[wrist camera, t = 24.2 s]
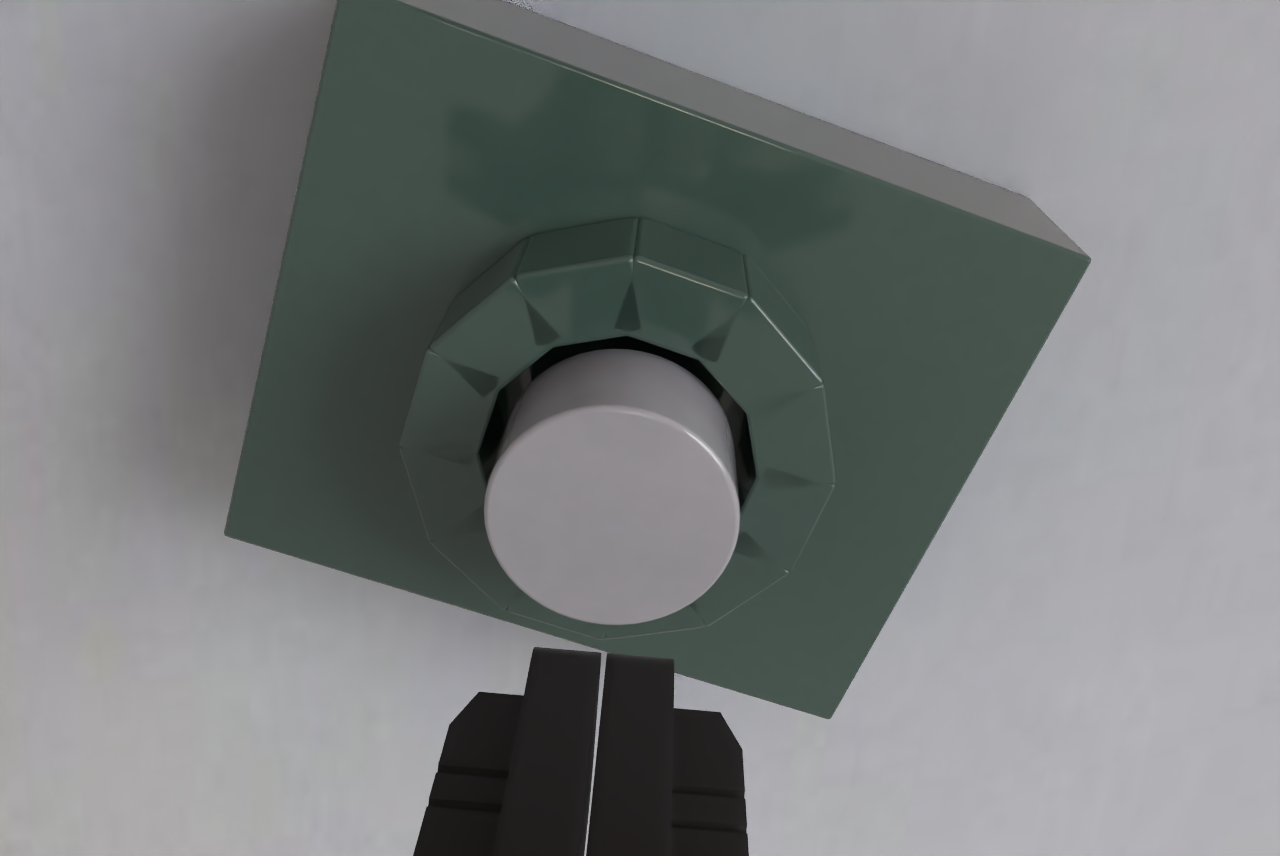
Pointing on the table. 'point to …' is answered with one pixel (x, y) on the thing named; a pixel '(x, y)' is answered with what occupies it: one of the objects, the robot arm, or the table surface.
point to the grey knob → (614, 488)
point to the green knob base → (631, 325)
